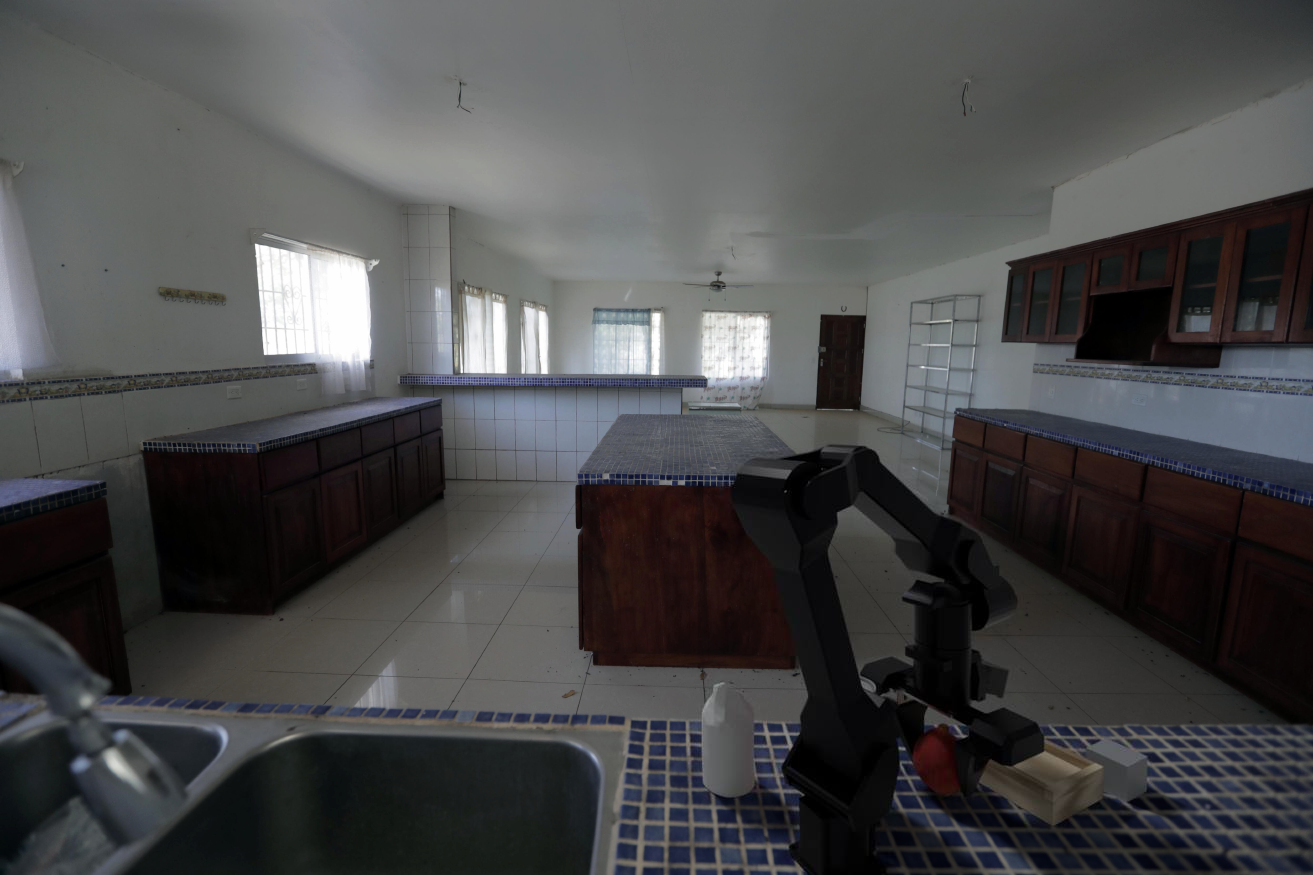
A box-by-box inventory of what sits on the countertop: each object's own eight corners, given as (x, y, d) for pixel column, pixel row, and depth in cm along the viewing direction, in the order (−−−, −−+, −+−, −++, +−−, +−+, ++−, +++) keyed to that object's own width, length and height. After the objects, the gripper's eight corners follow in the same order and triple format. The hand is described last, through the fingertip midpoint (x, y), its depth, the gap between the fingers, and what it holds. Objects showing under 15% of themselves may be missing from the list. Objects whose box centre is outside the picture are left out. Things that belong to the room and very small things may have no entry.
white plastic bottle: (755, 671, 69) (752, 694, 64) (756, 771, 70) (753, 802, 64) (704, 667, 71) (697, 689, 65) (705, 765, 71) (698, 795, 66)
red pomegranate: (910, 802, 64) (910, 729, 63) (915, 772, 69) (914, 705, 68) (971, 818, 61) (971, 742, 61) (971, 786, 66) (971, 716, 66)
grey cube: (1126, 803, 63) (1127, 766, 63) (1085, 782, 67) (1086, 747, 66) (1146, 791, 65) (1147, 756, 65) (1105, 771, 68) (1106, 738, 68)
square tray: (1052, 825, 60) (1053, 792, 60) (970, 777, 68) (970, 747, 68) (1103, 798, 64) (1103, 766, 64) (1019, 755, 72) (1020, 726, 72)
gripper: (1078, 655, 59) (1076, 807, 60) (921, 603, 76) (921, 721, 77) (1008, 680, 54) (1007, 845, 55) (856, 618, 71) (856, 745, 72)
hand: (941, 779), depth 65 cm, fingers closed on red pomegranate, 6 cm apart
